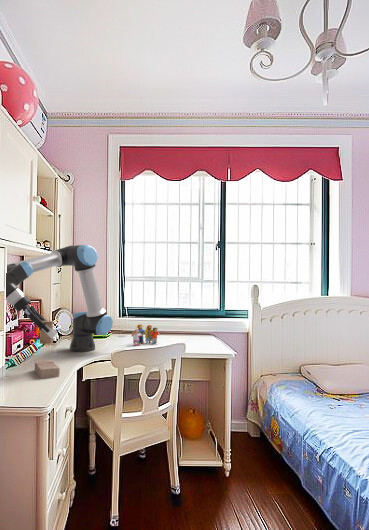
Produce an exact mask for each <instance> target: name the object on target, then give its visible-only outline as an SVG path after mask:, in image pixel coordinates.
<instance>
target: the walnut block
mask: <svg viewBox="0 0 369 530" xmlns="http://www.w3.org/2000/svg"><path fill="white" fill-rule="evenodd" d="M43 322H44V324H45V325H47V326H48V327H49V328H50V329H51V330H52V331H53V328H54V320H47V321H43ZM52 343H53V338H52V339H51V338H50V337H49V336H48V335H47V334H46V333H45V332H44V331H43V330H42V329H41V330H40V329H39V344H40V345H44V344H45V345H49V344H52Z"/></svg>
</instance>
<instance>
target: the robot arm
mask: <svg viewBox="0 0 369 530" xmlns="http://www.w3.org/2000/svg"><path fill="white" fill-rule="evenodd" d="M98 259H99V255H98V252H97V250H96V248H94V247H93V246H91V245H88V244H77V245H68V246H65V247H61V248H58V249H56V250H53V251H51V252H50V253H46V254H43V255H38V256H36V257H32V258H27V259H24V260H20V261H17V262H13V263H12V262H11V263H9V264H6V265H7V273H6V299H5V300H6V303H7V304H9V305H11V306H12V307H13V308H14V310H16V312H19V313H20V312H21V311H23V314H24V315H25V316H26V317H27V318H29V320H30V321H31V322H32V323H33V324H35V326H37V327H38V330H39V331H40V330H41V329H42V330H43V331H44V332H45V333H46V334H47V335H48V336H49V337H50V338H51V339H52V340H53V339H54V337H55V336H57V334H58V331H57V330H56V329H55V328H54V327H53V331H52V330H51V329H50V328H49V327H48V326H47V325H45V324H44V322H43V321H48V320H47V319H46V318H45V317H44V316H43V315H42V314H40V312H39V311H38V310H36V308H35V307H33V306H32V305H31V306H30V305H29V304H30V303H31V302H32V301H31V299H30V298H29V297H28V296H27V295H25V293H24V292H23V290H21V289H20V288H19V287H18V286H19V285H20V284H21V283H23V282H24V281H26V279H28V278H29V277H30V276H31V275H33V273H36V272H40V271H43V270H46V269H50V268H54V267H56V268H60V267H67V266H70V267H71V266H73V267H74V271H75V272H76V273H78V276H79V281H80V284H81V288H82V293H83V297H84V300H85V305H86V309H87V311H79V312H74V313H73V318H72V338H71V341H70V345H69V351H71V352H78V353H79V352H80V353H84V352H91V351H94V350H95V351H96V343H95V340H94V338H93V337H94V335H98V336H101V335H102V336H105V335H107V334H108V333H110V331H111V329H112V328H113V324H114V323H113V321H114V320H113V318H112V316H110V315H108V314H107V313H108V312H107V309H105V308H103V304H102V300H101V295H100V291H99V286H98V282H97V279H96V278H97V277H96V274H95V268H96V266H97V265H96V264H97V262H98Z"/></svg>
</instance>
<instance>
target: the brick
mask: <svg viewBox="0 0 369 530" xmlns="http://www.w3.org/2000/svg"><path fill="white" fill-rule="evenodd" d="M60 369H61V368H60V367H59V366H58V365H57V364H56V363H55V361H54V360H53V359H52V360H51V359H47V360H39V361H35V362H34V372H35V373H36V375H38V376H39V377H38V378H40V379H42V380H43V379H44V380H45V379H49V378H50V379H51V378H52V379H53V378H58V377H60V374H61V373H60Z"/></svg>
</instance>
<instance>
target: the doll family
mask: <svg viewBox="0 0 369 530" xmlns="http://www.w3.org/2000/svg"><path fill="white" fill-rule="evenodd" d="M152 327H153V326H152V325H151V324H147V326H146V329H143V324H137V326H136V328H135V329H134V331H132V332H131V337H132V339H133V341H132V342H133V347H138V346H141V345H140V344H143V345H145V344H146V343H151V345H156V344H155V343H158V336H160V335H161V334H160V332H159V331H158V327H153V328H152ZM144 335H145V336H144ZM144 338H145V340H144Z"/></svg>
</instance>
